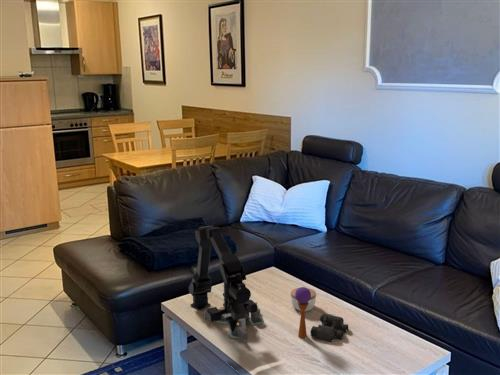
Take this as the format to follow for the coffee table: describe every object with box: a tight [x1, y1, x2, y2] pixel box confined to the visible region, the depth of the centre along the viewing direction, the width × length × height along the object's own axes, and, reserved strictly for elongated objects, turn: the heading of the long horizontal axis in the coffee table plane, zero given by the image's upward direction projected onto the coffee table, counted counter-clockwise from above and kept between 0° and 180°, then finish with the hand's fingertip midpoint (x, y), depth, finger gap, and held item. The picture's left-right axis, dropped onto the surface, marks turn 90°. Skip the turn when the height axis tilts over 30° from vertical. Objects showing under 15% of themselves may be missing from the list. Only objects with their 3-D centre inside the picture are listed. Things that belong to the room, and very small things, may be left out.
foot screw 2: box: [249, 301, 261, 322], centre depth 203 cm, size 10×4×4 cm, turn 179°
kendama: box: [295, 286, 311, 339], centre depth 186 cm, size 6×6×20 cm
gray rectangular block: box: [230, 321, 248, 341], centre depth 187 cm, size 10×4×4 cm, turn 25°
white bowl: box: [290, 287, 317, 313], centre depth 210 cm, size 11×11×9 cm
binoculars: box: [310, 312, 349, 342], centre depth 191 cm, size 11×16×6 cm
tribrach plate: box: [215, 316, 264, 340], centre depth 199 cm, size 19×20×1 cm
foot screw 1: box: [203, 306, 225, 321], centre depth 200 cm, size 10×4×4 cm, turn 105°
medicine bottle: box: [228, 313, 250, 330], centre depth 196 cm, size 7×7×12 cm
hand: (232, 331), depth 183 cm, fingers closed
